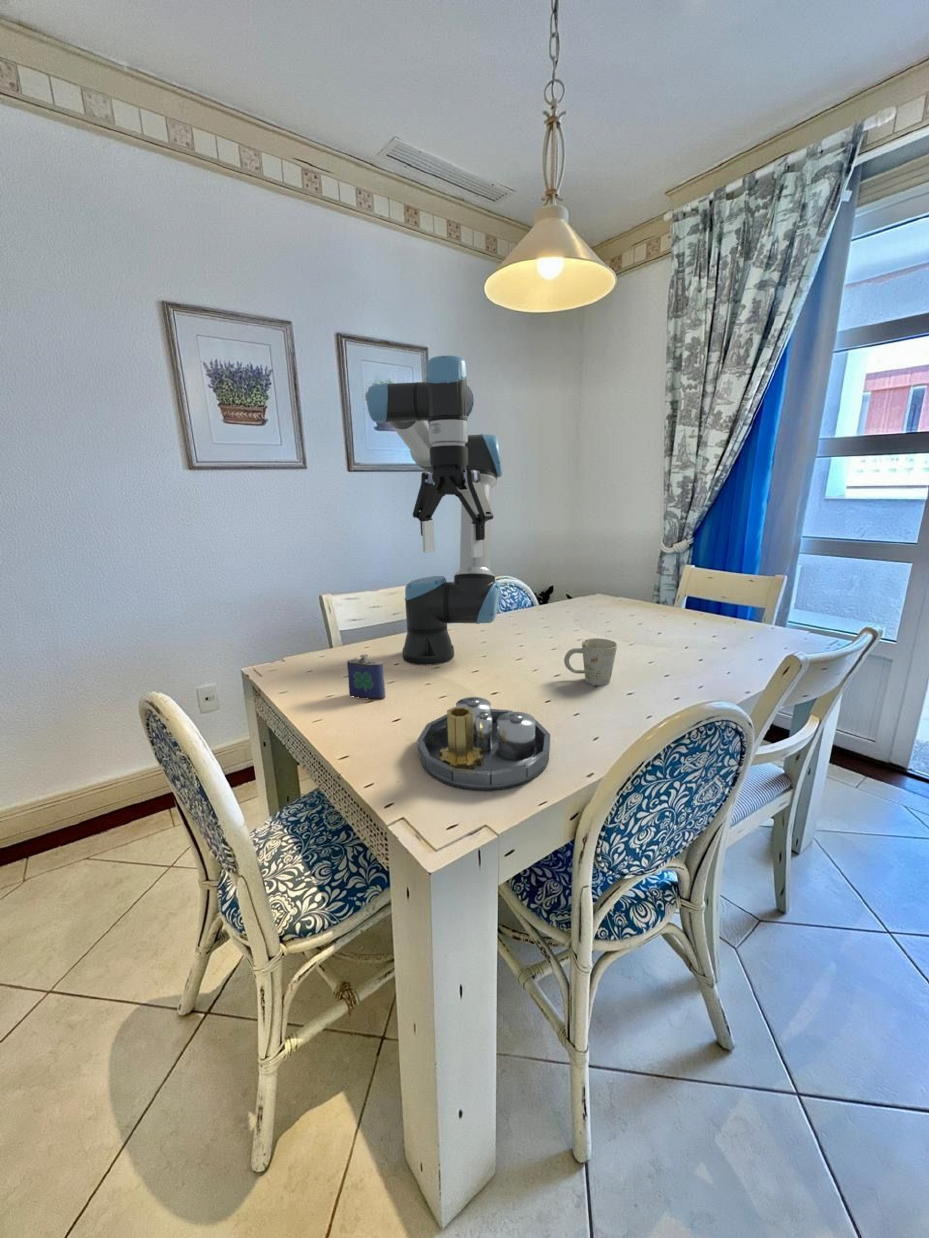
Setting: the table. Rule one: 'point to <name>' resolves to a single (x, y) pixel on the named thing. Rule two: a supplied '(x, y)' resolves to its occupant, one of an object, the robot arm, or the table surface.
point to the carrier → (489, 748)
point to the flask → (366, 678)
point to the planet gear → (461, 740)
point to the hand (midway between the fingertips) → (451, 554)
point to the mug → (595, 660)
